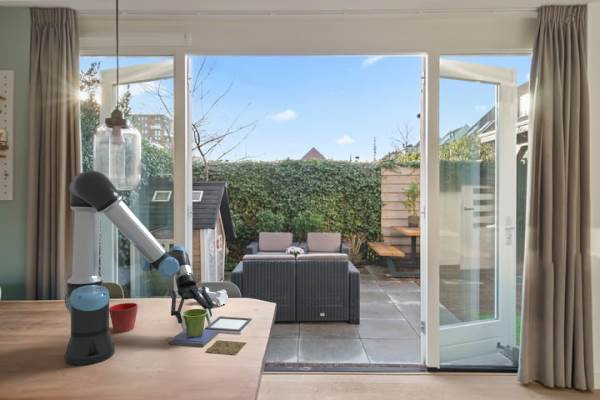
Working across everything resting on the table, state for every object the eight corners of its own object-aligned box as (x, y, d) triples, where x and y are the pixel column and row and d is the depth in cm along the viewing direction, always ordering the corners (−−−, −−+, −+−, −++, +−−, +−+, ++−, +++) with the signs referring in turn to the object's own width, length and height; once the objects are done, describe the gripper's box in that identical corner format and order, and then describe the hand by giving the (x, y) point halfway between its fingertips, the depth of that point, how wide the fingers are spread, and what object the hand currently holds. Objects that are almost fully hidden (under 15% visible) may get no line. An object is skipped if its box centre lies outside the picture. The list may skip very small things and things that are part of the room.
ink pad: (203, 346, 138) (203, 342, 138) (168, 344, 141) (168, 340, 141) (218, 333, 152) (218, 329, 152) (186, 331, 155) (186, 327, 155)
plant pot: (212, 334, 147) (212, 312, 147) (190, 341, 140) (190, 317, 140) (199, 328, 153) (199, 307, 153) (177, 334, 146) (177, 312, 146)
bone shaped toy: (228, 305, 194) (229, 289, 195) (217, 308, 187) (218, 291, 187) (206, 301, 201) (207, 286, 202) (194, 304, 194) (196, 288, 194)
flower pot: (105, 329, 157) (105, 306, 156) (131, 323, 165) (131, 301, 164) (115, 336, 149) (115, 311, 149) (142, 328, 157) (142, 305, 157)
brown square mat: (247, 343, 143) (247, 341, 143) (235, 356, 131) (235, 353, 131) (217, 341, 145) (217, 338, 145) (203, 354, 133) (203, 351, 133)
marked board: (240, 334, 151) (240, 330, 151) (203, 331, 154) (203, 328, 154) (253, 321, 167) (253, 318, 167) (219, 318, 170) (219, 316, 170)
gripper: (208, 280, 165) (222, 326, 152) (155, 287, 153) (166, 338, 140) (212, 270, 161) (227, 316, 148) (159, 276, 149) (170, 328, 136)
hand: (197, 327), depth 144 cm, fingers closed on plant pot, 9 cm apart
